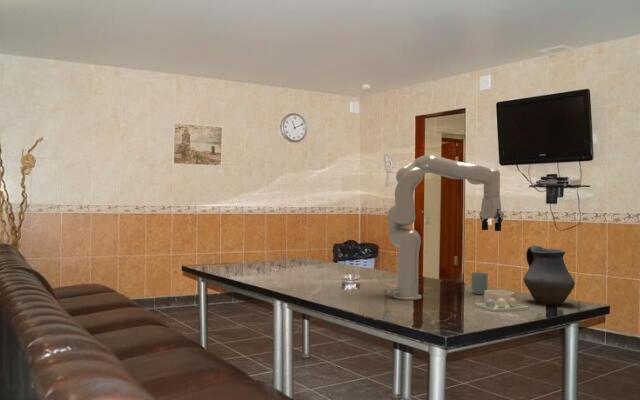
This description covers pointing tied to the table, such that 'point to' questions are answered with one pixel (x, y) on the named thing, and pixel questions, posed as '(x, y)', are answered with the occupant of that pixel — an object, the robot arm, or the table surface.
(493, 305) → the pebble
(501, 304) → the pebble
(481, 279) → the cup
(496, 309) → the tray
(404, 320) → the table surface
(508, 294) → the bowl
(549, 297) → the pitcher
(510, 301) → the pebble
